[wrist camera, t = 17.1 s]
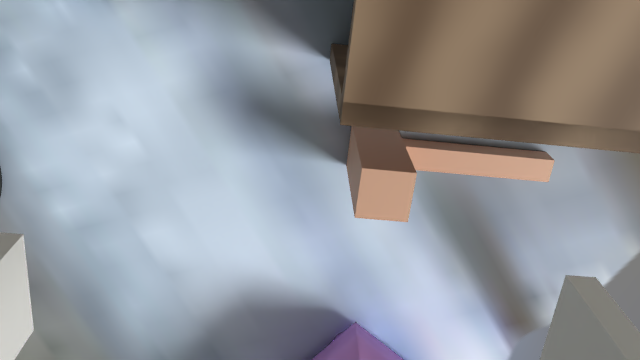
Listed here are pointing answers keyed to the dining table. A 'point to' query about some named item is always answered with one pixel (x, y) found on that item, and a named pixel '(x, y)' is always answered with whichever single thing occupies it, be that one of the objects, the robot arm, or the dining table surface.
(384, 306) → the dining table surface
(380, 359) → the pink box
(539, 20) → the shelf
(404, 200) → the l-shaped block
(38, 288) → the dining table surface
